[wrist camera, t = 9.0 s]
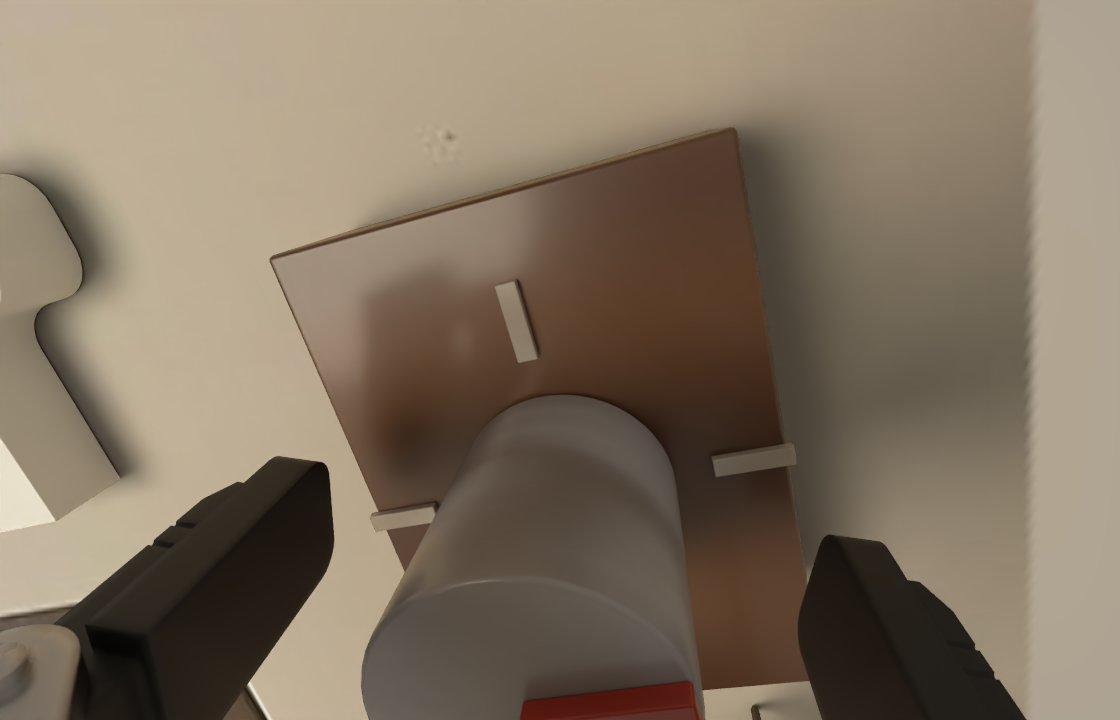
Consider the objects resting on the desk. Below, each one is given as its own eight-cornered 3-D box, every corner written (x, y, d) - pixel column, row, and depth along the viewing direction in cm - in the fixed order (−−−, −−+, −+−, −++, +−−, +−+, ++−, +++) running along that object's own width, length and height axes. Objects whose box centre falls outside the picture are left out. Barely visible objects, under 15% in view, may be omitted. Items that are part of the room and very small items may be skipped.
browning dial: (505, 588, 12) (425, 867, 7) (434, 420, 11) (285, 631, 6) (698, 556, 11) (744, 849, 6) (645, 369, 10) (656, 569, 5)
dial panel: (342, 233, 13) (255, 260, 10) (716, 127, 11) (746, 123, 8) (490, 614, 16) (458, 719, 13) (790, 577, 15) (830, 688, 12)
